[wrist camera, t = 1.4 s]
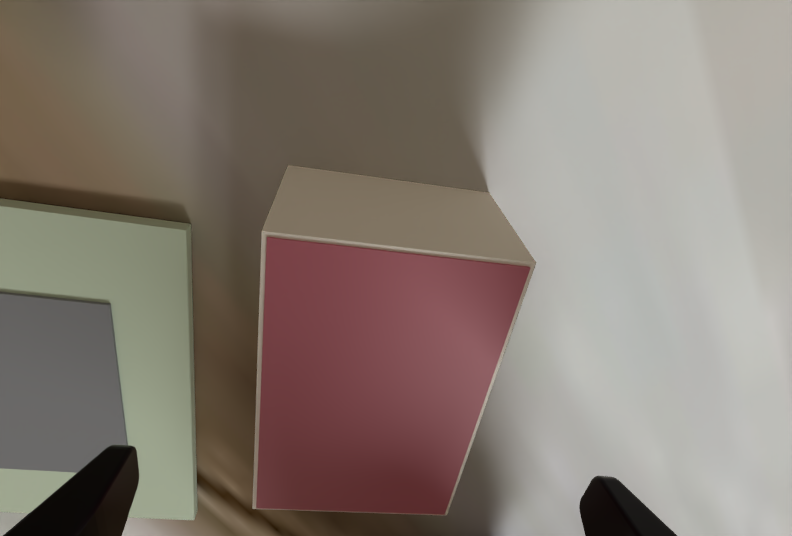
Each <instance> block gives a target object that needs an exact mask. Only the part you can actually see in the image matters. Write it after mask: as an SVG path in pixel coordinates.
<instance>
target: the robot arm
mask: <svg viewBox="0 0 792 536" xmlns="http://www.w3.org/2000/svg"><path fill="white" fill-rule="evenodd" d="M138 483H139V467H138V458H137V450H136V448H135V447H134V446H131V445H111V446H109V447H107V448H106V449H104V450H103V451H102V452H101V453H100V454H99V455H97V456H96V457H95V458H94V459H93V460H92V461H90V462H89V463H88V464H87V465H86V466H84V467H83V468H82V469H81V470H80V471H79V472H77V473H76V474H75V475H74V476H73V477H72V478H70V479H69V480H68V481H67V482H66V483H64V484H63V485H62V486H61V487H60V488H59V489H57V490H56V491H55V492H54V493H53V494H52V495H50V496H49V497H48V498H47V499H46V500H44V501H43V502H42V503H41V504H40V505H39V506H37V507H36V508H35V509H34V510H33V511H32V512H30V513H29V514H28V515H27V516H26V517H24V518H23V519H22V520H21V521H20V522H19V523H17V524H16V525H15V526H14V527H13V528H12V529H10V530H9V531H8V532H7V533H6V534H5V535H3V536H122V533H123V530H124V527H125V524H126V521H127V518H128V515H129V512H130V509H131V506H132V503H133V500H134V497H135V494H136V491H137V487H138ZM580 514H581V518H582V523H583V527H584V531H585V535H586V536H677V535H676V534H675V533H674V532H673V531H672V530H671V529H670V528H668V527H667V526H666V525H665V524H664V523H663V522H662V521H661V520H660V519H659V518H658V517H657V516H656V515H655V514H654V513H653V512H652V511H651V510H649V509H648V508H647V507H646V506H645V505H644V504H643V503H642V502H641V501H640V500H639V499H638V498H637V497H636V496H635V495H634V494H633V493H632V492H630V491H629V490H628V489H627V488H626V487H625V486H624V485H623V484H622V483H621V482H620V481H619V480H617V479H616V478H614V477H606V476H596V477H594V478H593V479H592V481H591V483H590V484H589V486H588V488H587V489H586V491H585V493H584V495H583V496H582V498H581V501H580Z"/></svg>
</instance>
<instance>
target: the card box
mask: <svg viewBox="0 0 792 536" xmlns="http://www.w3.org/2000/svg"><path fill="white" fill-rule="evenodd" d="M535 265H536V262H535V260H534V259H533V257H532V256H531V254H530V253H529V251H528V250H527V248H526V247H525V245H524V244H523V242H522V241H521V239H520V238H519V236H518V235H517V233H516V232H515V231H514V229H513V228H512V226H511V225H510V223H509V222H508V220H507V219H506V217H505V216H504V214H503V213H502V211H501V210H500V208H499V207H498V205H497V204H496V202H495V201H494V199H493V198H492V196H491V195H490V193H489V192H481V191H474V190H467V189H460V188H452V187H445V186H438V185H430V184H423V183H416V182H408V181H401V180H394V179H387V178H379V177H372V176H365V175H357V174H350V173H343V172H335V171H328V170H321V169H313V168H306V167H299V166H292V165H288V166H287V169H286V171H285V174H284V176H283V179H282V181H281V184H280V186H279V189H278V191H277V194H276V196H275V199H274V201H273V204H272V206H271V209H270V211H269V214H268V216H267V219H266V221H265V224H264V226H263V229H262V235H261V265H260V296H259V326H258V356H257V387H256V417H255V447H254V478H253V508H252V509H271V510H301V511H330V512H359V513H388V514H418V515H447V514H448V511H449V509H450V506H451V503H452V500H453V497H454V494H455V492H456V489H457V486H458V483H459V480H460V477H461V475H462V472H463V469H464V466H465V463H466V460H467V458H468V455H469V452H470V449H471V446H472V443H473V441H474V438H475V435H476V432H477V429H478V426H479V424H480V421H481V418H482V415H483V412H484V409H485V407H486V404H487V401H488V398H489V395H490V392H491V390H492V387H493V384H494V381H495V378H496V375H497V373H498V370H499V367H500V364H501V361H502V358H503V356H504V353H505V350H506V347H507V344H508V341H509V339H510V336H511V333H512V330H513V327H514V324H515V321H516V319H517V316H518V313H519V310H520V307H521V304H522V302H523V299H524V296H525V293H526V290H527V287H528V285H529V282H530V279H531V276H532V273H533V270H534V268H535Z"/></svg>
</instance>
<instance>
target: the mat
mask: <svg viewBox="0 0 792 536" xmlns="http://www.w3.org/2000/svg"><path fill="white" fill-rule="evenodd" d="M111 445H131V446H134V447H135V448H136V450H137V458H138V467H139V483H138V487H137V491H136V494H135V497H134V500H133V503H132V506H131V509H130V512H129V515H128V517H129V518H153V519H176V520H194V519H195V516H196V513H197V473H196V428H195V384H194V340H193V296H192V251H191V224H188V223H181V222H173V221H166V220H159V219H151V218H144V217H136V216H129V215H121V214H114V213H106V212H99V211H91V210H84V209H76V208H69V207H61V206H54V205H46V204H39V203H31V202H24V201H17V200H9V199H2V198H0V512H12V513H30V512H32V511H33V510H34V509H35V508H36V507H37V506H39V505H40V504H41V503H42V502H43V501H44V500H46V499H47V498H48V497H49V496H50V495H52V494H53V493H54V492H55V491H56V490H57V489H59V488H60V487H61V486H62V485H63V484H64V483H66V482H67V481H68V480H69V479H70V478H72V477H73V476H74V475H75V474H76V473H77V472H79V471H80V470H81V469H82V468H83V467H84V466H86V465H87V464H88V463H89V462H90V461H92V460H93V459H94V458H95V457H96V456H97V455H99V454H100V453H101V452H102V451H103V450H104V449H106V448H107V447H109V446H111Z"/></svg>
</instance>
